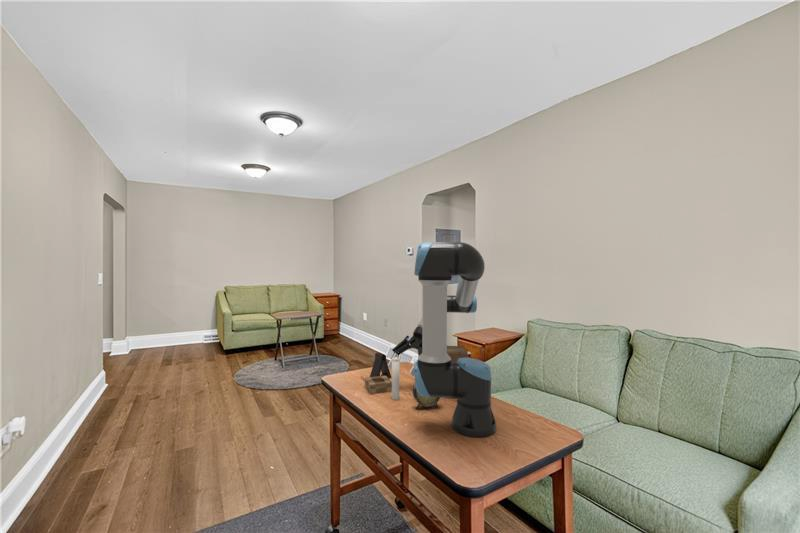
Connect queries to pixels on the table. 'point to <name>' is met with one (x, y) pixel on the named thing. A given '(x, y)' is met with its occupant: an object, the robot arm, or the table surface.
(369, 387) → the brown square box
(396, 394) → the needle peg
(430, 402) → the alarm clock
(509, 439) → the table surface
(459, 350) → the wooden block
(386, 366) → the door stopper
